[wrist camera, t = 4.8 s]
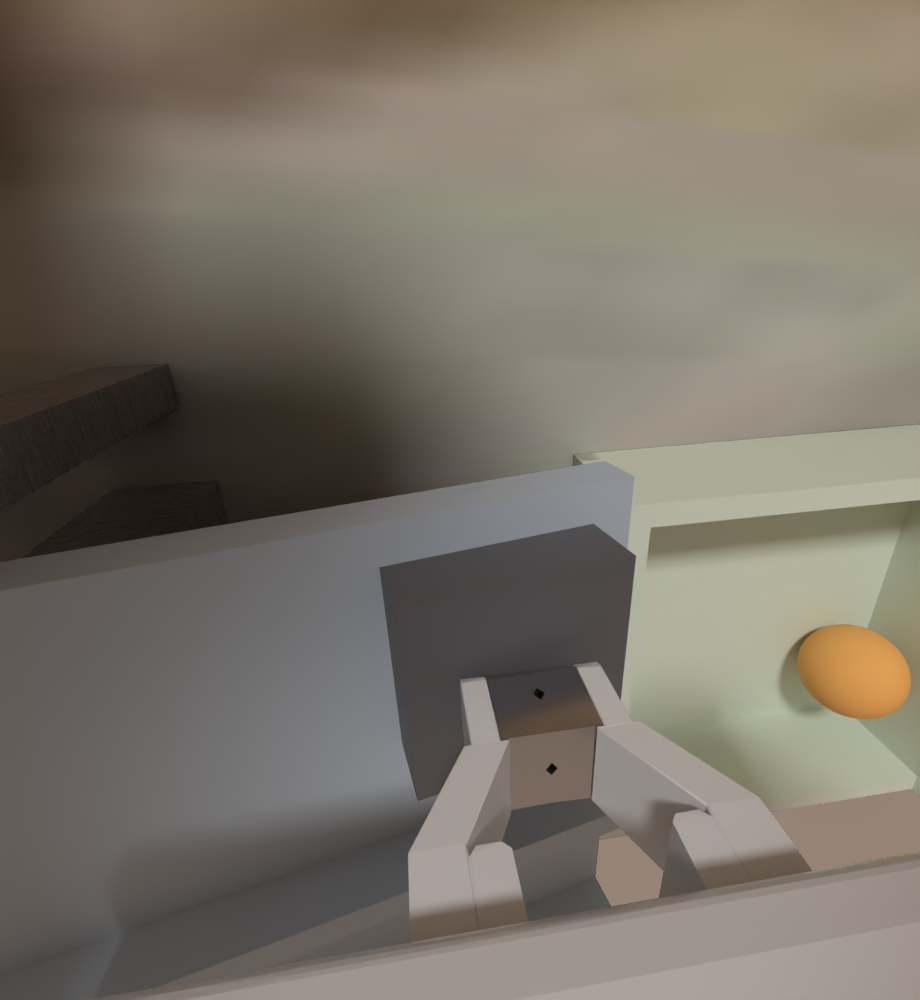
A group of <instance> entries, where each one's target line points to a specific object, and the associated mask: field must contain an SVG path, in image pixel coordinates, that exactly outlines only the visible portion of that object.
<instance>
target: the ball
mask: <svg viewBox="0 0 920 1000" xmlns="http://www.w3.org/2000/svg"><path fill="white" fill-rule="evenodd" d="M797 667H798V672H799V675H800V678H801V681H802V683H803V685H804V686H805V688H806V689H807V691H808V692H809V693H810V694H811V695H812V696H813V697H814V699H816V700H817V701H818V702H819V703H820V704H822V705H823V706H825V707H826V708H828V709H829V710H831V711H833V712H835V713H838V714H840V715H843V716H846V717H851V718H856V719H874V718H879V717H883V716H886V715H888V714H890V713H892V712H894V711H895V710H896V709H898V708H899V707H900V706H901V705H902V704H903V703H904V701H905V700H906V698H907V696H908V694H909V691H910V688H911V675H910V670H909V667H908V664H907V662H906V660H905V658H904V657H903V655H902V654H901V652H900V651H899V650H898V649H897V648H896V647H895V646H894V645H893V644H892V643H891V642H890V641H889V640H887V639H886V638H885V637H883V636H882V635H880V634H878V633H876V632H874V631H872V630H870V629H867V628H864V627H861V626H856V625H849V624H837V625H830V626H827V627H823V628H821V629H819V630H817V631H815V632H814V633H812V634H811V635H810V636H808V637H807V639H806V640H805V641H804V642H803V644H802V646H801V647H800V650H799V653H798V658H797Z"/></svg>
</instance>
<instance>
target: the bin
mask: <svg viewBox="0 0 920 1000" xmlns="http://www.w3.org/2000/svg"><path fill="white" fill-rule="evenodd" d="M601 461H606V462H608V463H610V464H612V465H614V466H616V467H617V468H619V469H621V470H623V471H625V472H627V473H629V474H631V475H632V476H634V487H633V497H632V507H631V518H630V528H629V538H628V548H627V549H628V550H629V551H630V552H632V553H633V554H634V555H636V562H635V571H634V581H633V590H632V599H631V609H630V618H629V627H628V637H627V646H626V655H625V665H624V674H623V684H622V693H621V702H622V704H623V706H624V707H625V709H626V711H627V713H628V715H629V716H630V718H631V720H632V722H637V721H640V722H642V723H644V724H645V725H647V726H648V727H650V728H651V729H653V730H655V731H656V732H658V733H659V734H661V735H662V736H664V737H666V738H667V739H669V740H670V741H672V742H673V743H675V744H676V745H678V746H680V747H681V748H683V749H684V750H686V751H687V752H689V753H691V754H692V755H694V756H695V757H697V758H698V759H700V760H702V761H703V762H705V763H706V764H708V765H709V766H711V767H712V768H714V769H716V770H717V771H719V772H720V773H722V774H723V775H725V776H727V777H728V778H730V779H731V780H733V781H734V782H736V783H738V784H739V785H741V786H742V787H744V788H745V789H747V790H748V791H750V792H752V793H753V794H755V795H756V796H758V797H759V798H760V799H761V800H762V801H763V803H764V804H765V806H766V807H767V808H768V810H769V811H770V812H771V811H778V810H784V809H790V808H796V807H803V806H809V805H815V804H821V803H827V802H833V801H839V800H845V799H852V798H858V797H864V796H870V795H876V794H882V793H888V792H894V791H900V790H906V789H913V790H914V791H915V792H916V793H917V794H918V795H919V796H920V424H919V425H908V426H896V427H885V428H873V429H862V430H850V431H839V432H827V433H816V434H805V435H793V436H782V437H770V438H759V439H747V440H736V441H724V442H713V443H701V444H690V445H678V446H667V447H656V448H644V449H633V450H621V451H610V452H598V453H587V454H575V455H573V466H577V465H583V464H589V463H595V462H601ZM837 624H849V625H856V626H861V627H864V628H867V629H870V630H872V631H874V632H876V633H878V634H880V635H882V636H883V637H885V638H886V639H887V640H889V641H890V642H891V643H892V644H893V645H894V646H895V647H896V648H897V649H898V650H899V651H900V652H901V654H902V655H903V657H904V658H905V660H906V662H907V664H908V667H909V670H910V675H911V688H910V691H909V694H908V696H907V698H906V700H905V701H904V703H903V704H902V705H901V706H900V707H899V708H898V709H896V710H895V711H894V712H892V713H890V714H888V715H886V716H883V717H879V718H874V719H856V718H851V717H846V716H843V715H840V714H838V713H835V712H833V711H831V710H829V709H828V708H826V707H825V706H823V705H822V704H820V703H819V702H818V701H817V700H816V699H814V697H813V696H812V695H811V694H810V693H809V692H808V691H807V689H806V688H805V686H804V685H803V683H802V681H801V678H800V675H799V672H798V667H797V658H798V653H799V650H800V647H801V646H802V644H803V642H804V641H805V640H806V639H807V637H808V636H810V635H811V634H812V633H814V632H815V631H817V630H819V629H821V628H823V627H827V626H830V625H837ZM625 835H627V834H626V833H625V832H624V831H623V830H622V829H621V828H619V829H617V830H614V831H612V832H609V833H607V834H604V835H602V836H599V840H600V839H606V838H612V837H618V836H625Z"/></svg>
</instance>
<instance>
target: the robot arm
mask: <svg viewBox="0 0 920 1000" xmlns="http://www.w3.org/2000/svg"><path fill="white" fill-rule="evenodd" d="M460 696H461V712H462V726H463V736H464V747H463V749H462V751H461V753H460V755H459V757H458V759H457V760H456V762H455V764H454V766H453V768H452V770H451V772H450V774H449V776H448V778H447V780H446V782H445V784H444V785H443V787H442V789H441V791H440V793H439V795H438V797H437V799H436V801H435V803H434V805H433V807H432V809H431V810H430V812H429V814H428V816H427V818H426V820H425V822H424V824H423V826H422V828H421V830H420V832H419V834H418V835H417V837H416V839H415V841H414V843H413V845H412V847H411V849H410V851H409V853H408V873H409V916H410V943H404V944H399V945H393V946H387V947H382V948H376V949H370V950H365V951H359V952H354V953H348V954H342V955H337V956H331V957H325V958H320V959H314V960H309V961H303V962H297V963H292V964H286V965H280V966H275V967H269V968H264V969H258V970H252V971H247V972H241V973H235V974H230V975H224V976H218V977H213V978H207V979H202V980H196V981H190V982H185V983H179V984H173V985H168V986H162V987H156V988H151V989H145V990H139V991H134V992H128V993H122V994H117V995H111V996H106V997H100V998H94V999H89V1000H920V852H915V853H910V854H904V855H899V856H893V857H887V858H881V859H876V860H870V861H864V862H859V863H853V864H847V865H842V866H837V867H831V868H825V869H819V870H814V871H812V870H811V868H810V867H809V865H808V864H807V863H806V861H805V860H804V859H803V857H802V856H801V854H800V853H799V851H798V850H797V849H796V847H795V846H794V845H793V843H792V842H791V840H790V839H789V838H788V836H787V835H786V833H785V832H784V831H783V829H782V828H781V826H780V825H779V824H778V822H777V821H776V819H775V818H774V817H773V816H772V814H771V812H770V811H769V810H768V808H767V807H766V806H765V804H764V803H763V801H762V800H761V799H760V798H759V797H758V796H756V795H755V794H753V793H752V792H750V791H748V790H747V789H745V788H744V787H742V786H741V785H739V784H738V783H736V782H734V781H733V780H731V779H730V778H728V777H727V776H725V775H723V774H722V773H720V772H719V771H717V770H716V769H714V768H712V767H711V766H709V765H708V764H706V763H705V762H703V761H702V760H700V759H698V758H697V757H695V756H694V755H692V754H691V753H689V752H687V751H686V750H684V749H683V748H681V747H680V746H678V745H676V744H675V743H673V742H672V741H670V740H669V739H667V738H666V737H664V736H662V735H661V734H659V733H658V732H656V731H655V730H653V729H651V728H650V727H648V726H647V725H645V724H644V723H642V722H640V721H637V722H632V720H631V718H630V716H629V715H628V713H627V711H626V709H625V707H624V706H623V704H622V702H621V700H620V699H619V697H618V695H617V693H616V691H615V690H614V688H613V686H612V684H611V682H610V681H609V679H608V677H607V675H606V674H605V672H604V670H603V668H602V666H601V665H600V664H599V663H598V662H590V663H583V664H576V665H573V666H564V667H557V668H550V669H543V670H535V671H528V672H520V673H511V674H501V675H492V676H485V678H484V677H478V678H468V679H460ZM585 798H592V801H593V802H594V803H595V804H596V805H597V806H598V807H599V808H600V809H601V810H602V811H603V812H604V813H605V814H606V815H607V816H608V817H609V818H610V819H611V820H613V821H614V822H615V823H616V824H617V825H618V826H619V827H620V828H621V829H622V830H623V831H624V832H625V833H626V834H627V835H628V836H629V837H630V838H631V839H632V840H633V841H634V842H635V843H636V844H637V845H638V846H639V847H640V848H641V849H642V850H643V851H644V852H645V853H646V854H647V855H648V856H649V857H650V858H651V859H652V860H653V861H654V862H655V863H656V864H657V865H658V866H659V867H660V868H661V869H662V870H663V871H664V872H663V878H662V884H661V889H660V895H659V898H657V899H652V900H646V901H641V902H635V903H629V904H624V905H618V906H612V907H607V908H601V909H595V910H590V911H584V912H579V913H573V914H567V915H562V916H556V917H550V918H545V919H539V920H534V921H528V917H527V913H526V908H525V904H524V899H523V895H522V891H521V886H520V882H519V877H518V873H517V868H516V864H515V859H514V855H513V850H512V848H511V847H510V846H508V845H506V844H505V843H503V842H502V840H503V837H504V834H505V830H506V827H507V824H508V821H509V818H510V815H511V810H515V809H520V808H525V807H531V806H536V805H541V804H547V803H553V802H561V801H569V800H577V799H585Z"/></svg>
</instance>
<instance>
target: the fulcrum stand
mask: <svg viewBox="0 0 920 1000" xmlns="http://www.w3.org/2000/svg"><path fill="white" fill-rule="evenodd" d="M178 406H179V404H178V401H177V397H176V393H175V390H174V386H173V382H172V379H171V375H170V371H169V368H168V364H156V365H140V366H125V367H109V368H94V369H88V370H84V371H81V372H77V373H74V374H71V375H67V376H64V377H60V378H57V379H54V380H50V381H47V382H43V383H40V384H37V385H33V386H30V387H26V388H23V389H20V390H16V391H13V392H10V393H6V394H3V395H0V512H1V511H2V510H4V509H6V508H7V507H9V506H11V505H13V504H14V503H16V502H18V501H19V500H21V499H23V498H24V497H26V496H28V495H29V494H31V493H33V492H34V491H36V490H38V489H40V488H41V487H43V486H45V485H46V484H48V483H50V482H51V481H53V480H55V479H56V478H58V477H60V476H61V475H63V474H65V473H66V472H68V471H70V470H72V469H73V468H75V467H77V466H78V465H80V464H82V463H83V462H85V461H87V460H88V459H90V458H92V457H93V456H95V455H97V454H98V453H100V452H102V451H104V450H105V449H107V448H109V447H110V446H112V445H114V444H115V443H117V442H119V441H120V440H122V439H124V438H125V437H127V436H129V435H130V434H132V433H134V432H136V431H137V430H139V429H141V428H142V427H144V426H146V425H147V424H149V423H151V422H152V421H154V420H156V419H157V418H159V417H161V416H162V415H164V414H166V413H168V412H169V411H171V410H173V409H174V408H176V407H178ZM225 524H228V522H227V518H226V514H225V510H224V506H223V502H222V498H221V494H220V491H219V487H218V483H217V481H206V482H195V483H183V484H172V485H160V486H148V487H137V488H125V489H114V490H111V491H110V492H109V493H107V494H106V495H105V496H103V497H102V498H101V499H99V500H98V501H97V502H95V503H94V504H93V505H91V506H90V507H89V508H87V509H86V510H85V511H83V512H82V513H81V514H79V515H78V516H77V517H75V518H74V519H73V520H71V521H70V522H69V523H67V524H66V525H65V526H63V527H62V528H61V529H59V530H58V531H57V532H55V533H54V534H53V535H51V536H50V537H49V538H47V539H46V540H45V541H44V542H42V543H41V544H40V545H38V546H37V547H36V548H34V549H33V550H32V551H30V552H29V553H28V554H26V555H25V556H24V557H22V558H28V557H34V556H40V555H46V554H52V553H58V552H64V551H70V550H76V549H82V548H88V547H94V546H100V545H106V544H112V543H118V542H124V541H129V540H135V539H141V538H147V537H153V536H159V535H165V534H171V533H177V532H183V531H189V530H195V529H201V528H207V527H213V526H219V525H225ZM22 558H21V559H22Z"/></svg>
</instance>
